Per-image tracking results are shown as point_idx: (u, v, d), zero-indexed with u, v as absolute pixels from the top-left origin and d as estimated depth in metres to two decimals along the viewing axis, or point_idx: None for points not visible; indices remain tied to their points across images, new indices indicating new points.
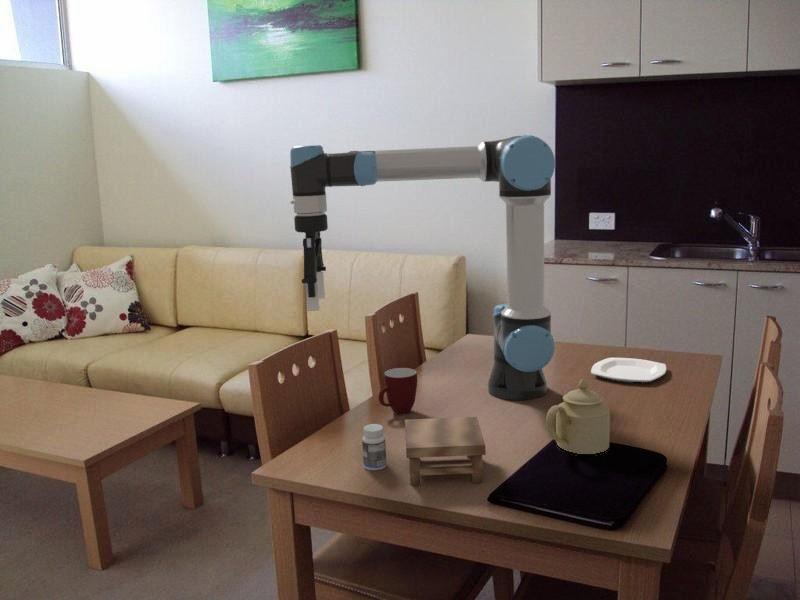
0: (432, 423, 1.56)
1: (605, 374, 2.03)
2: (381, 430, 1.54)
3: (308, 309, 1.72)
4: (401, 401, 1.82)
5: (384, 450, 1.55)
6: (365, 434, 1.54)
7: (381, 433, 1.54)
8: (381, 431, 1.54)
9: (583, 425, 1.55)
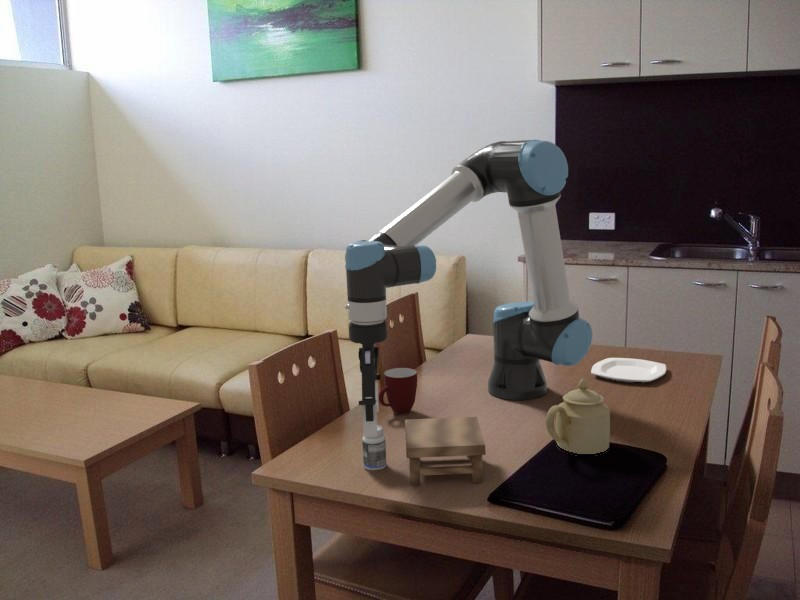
0: (432, 423, 1.56)
1: (605, 374, 2.03)
2: (381, 430, 1.54)
3: (364, 434, 1.47)
4: (401, 401, 1.82)
5: (384, 450, 1.55)
6: None
7: (381, 433, 1.54)
8: (381, 431, 1.54)
9: (583, 425, 1.55)
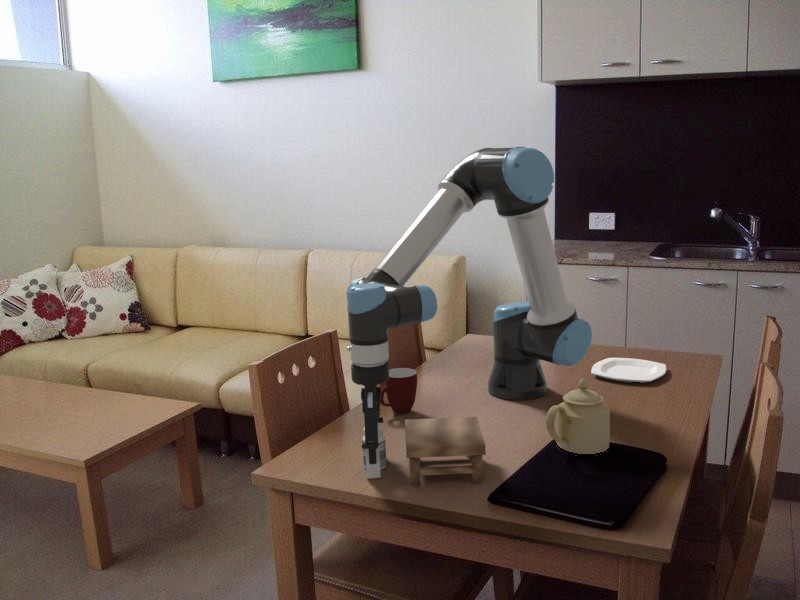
0: (432, 423, 1.56)
1: (605, 374, 2.03)
2: (381, 430, 1.54)
3: (367, 476, 1.50)
4: (401, 401, 1.82)
5: (384, 450, 1.55)
6: None
7: (381, 433, 1.54)
8: (381, 431, 1.54)
9: (583, 425, 1.55)
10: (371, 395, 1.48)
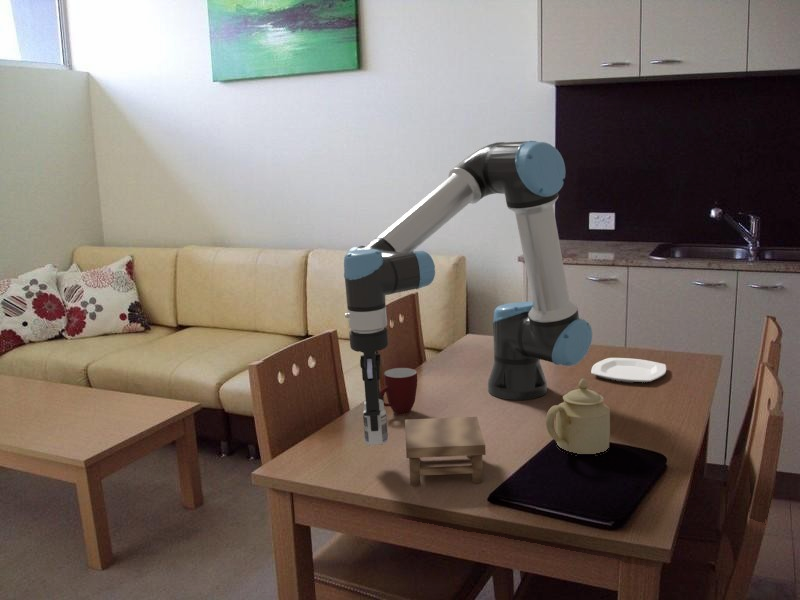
0: (432, 423, 1.56)
1: (605, 374, 2.03)
2: (382, 404, 1.53)
3: (370, 443, 1.52)
4: (401, 401, 1.82)
5: (385, 424, 1.54)
6: None
7: (382, 407, 1.53)
8: (382, 405, 1.53)
9: (583, 425, 1.55)
10: (370, 365, 1.47)
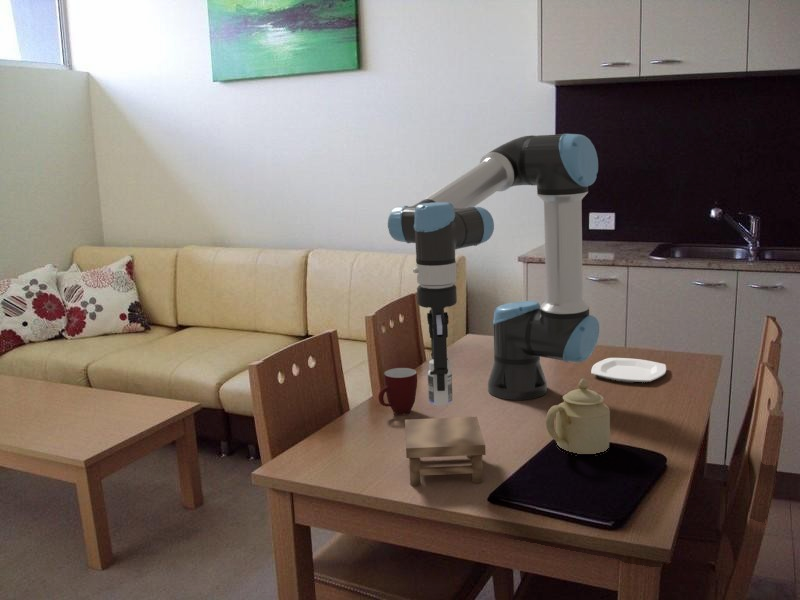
0: (432, 423, 1.56)
1: (605, 374, 2.03)
2: (448, 363, 1.48)
3: (435, 404, 1.47)
4: (401, 401, 1.82)
5: (451, 385, 1.49)
6: (431, 368, 1.48)
7: (448, 367, 1.48)
8: (448, 365, 1.48)
9: (583, 425, 1.55)
10: (440, 321, 1.42)
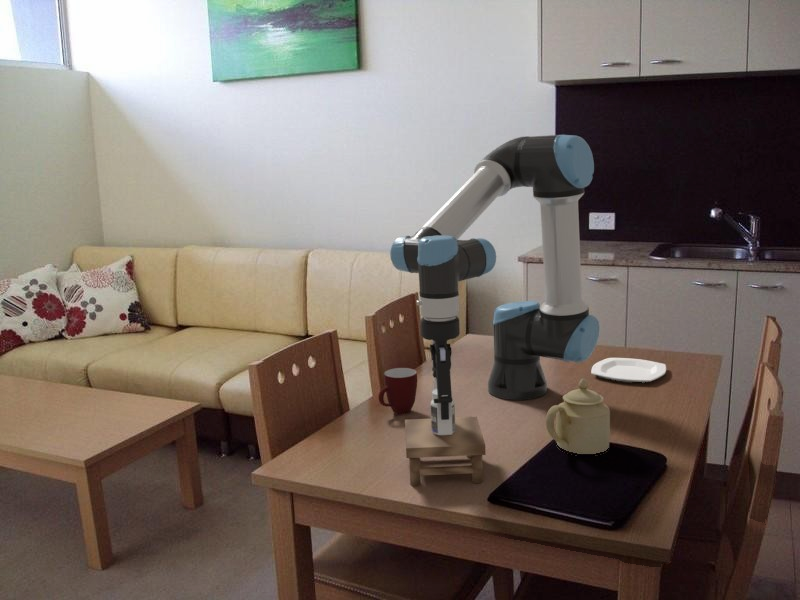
0: None
1: (605, 374, 2.03)
2: None
3: (439, 433, 1.44)
4: (401, 401, 1.82)
5: (453, 415, 1.50)
6: (434, 398, 1.49)
7: None
8: None
9: (583, 425, 1.55)
10: (443, 349, 1.43)
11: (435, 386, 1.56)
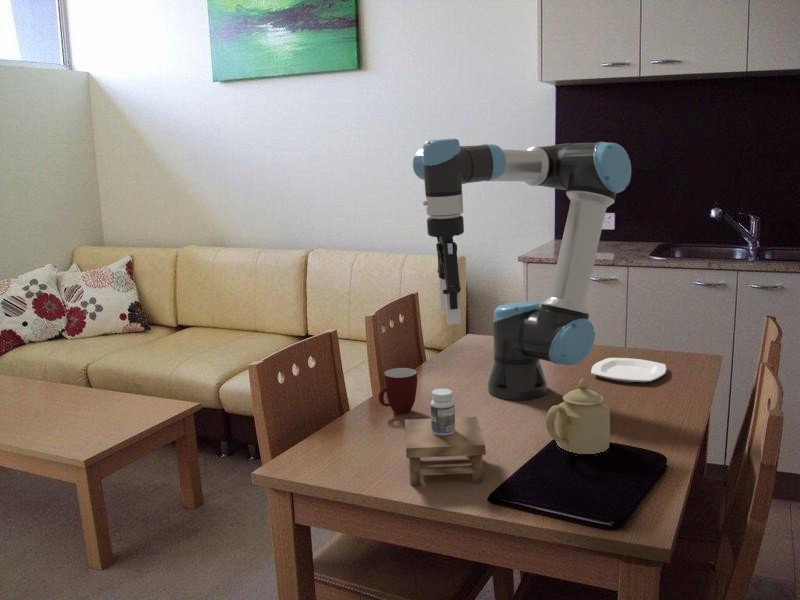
0: None
1: (605, 374, 2.03)
2: (451, 394, 1.49)
3: (448, 323, 1.55)
4: (401, 401, 1.82)
5: (453, 415, 1.50)
6: (434, 398, 1.49)
7: (451, 397, 1.49)
8: (451, 395, 1.49)
9: (583, 425, 1.55)
10: None
11: (441, 286, 1.67)
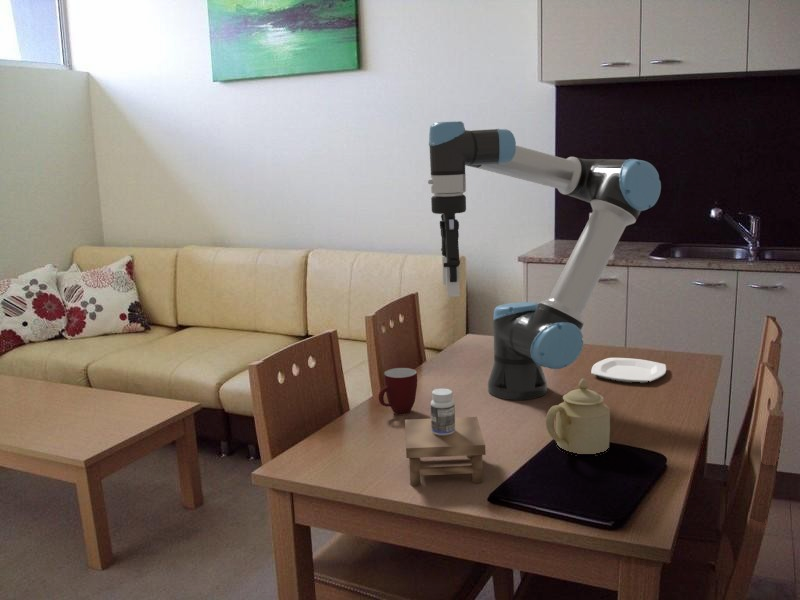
0: None
1: (605, 374, 2.03)
2: (451, 394, 1.49)
3: (448, 295, 1.63)
4: (401, 401, 1.82)
5: (453, 415, 1.50)
6: (434, 398, 1.49)
7: (451, 397, 1.49)
8: (451, 395, 1.49)
9: (583, 425, 1.55)
10: None
11: (444, 263, 1.75)
